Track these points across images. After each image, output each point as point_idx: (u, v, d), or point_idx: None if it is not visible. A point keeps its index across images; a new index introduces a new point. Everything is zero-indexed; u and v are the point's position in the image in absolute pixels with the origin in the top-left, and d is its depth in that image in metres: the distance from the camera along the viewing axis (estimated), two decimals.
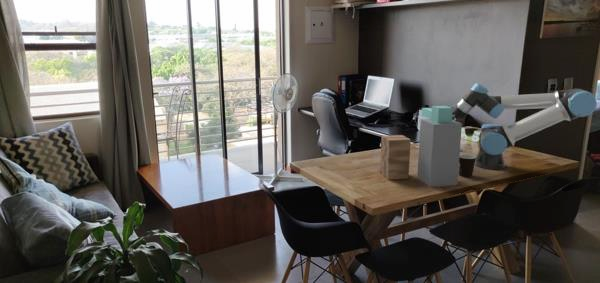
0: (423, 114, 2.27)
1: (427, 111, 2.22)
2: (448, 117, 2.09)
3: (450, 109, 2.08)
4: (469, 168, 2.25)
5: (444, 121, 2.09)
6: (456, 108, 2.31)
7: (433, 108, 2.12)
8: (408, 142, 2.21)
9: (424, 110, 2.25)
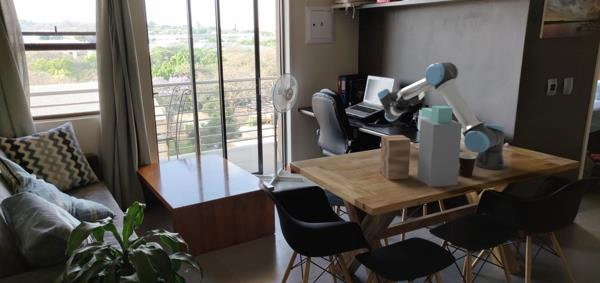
0: (423, 114, 2.27)
1: (427, 111, 2.22)
2: (448, 117, 2.09)
3: (450, 109, 2.08)
4: (469, 168, 2.25)
5: (444, 121, 2.09)
6: (395, 111, 2.61)
7: (433, 108, 2.12)
8: (408, 142, 2.21)
9: (424, 110, 2.25)
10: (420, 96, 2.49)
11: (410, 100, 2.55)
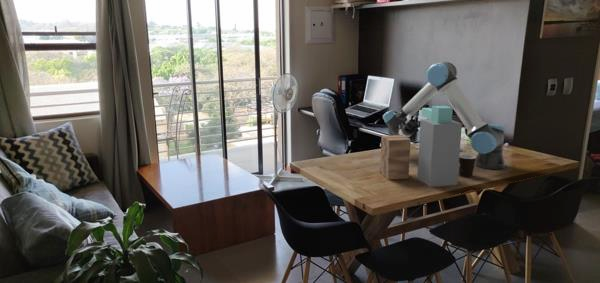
0: (423, 114, 2.27)
1: (427, 111, 2.22)
2: (448, 117, 2.09)
3: (450, 109, 2.08)
4: (469, 168, 2.25)
5: (444, 121, 2.09)
6: (404, 133, 2.49)
7: (433, 108, 2.12)
8: (408, 142, 2.21)
9: (424, 110, 2.25)
10: None
11: (420, 122, 2.42)
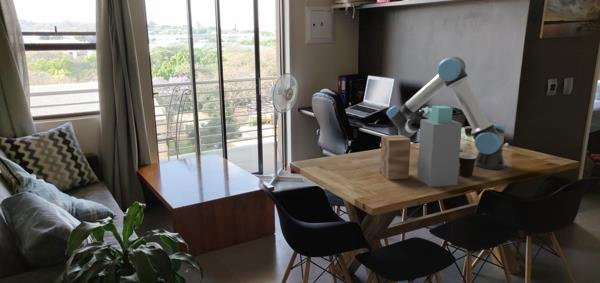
0: None
1: None
2: (448, 117, 2.09)
3: (450, 109, 2.08)
4: (469, 168, 2.25)
5: (444, 121, 2.09)
6: (411, 128, 2.41)
7: (433, 108, 2.12)
8: (408, 142, 2.21)
9: None
10: None
11: (424, 117, 2.33)
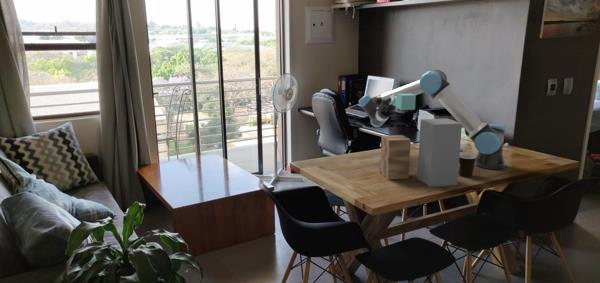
0: None
1: None
2: (411, 104, 2.16)
3: (413, 96, 2.16)
4: (469, 168, 2.25)
5: (407, 108, 2.16)
6: (381, 116, 2.48)
7: (397, 95, 2.20)
8: (408, 142, 2.21)
9: None
10: None
11: (392, 105, 2.41)
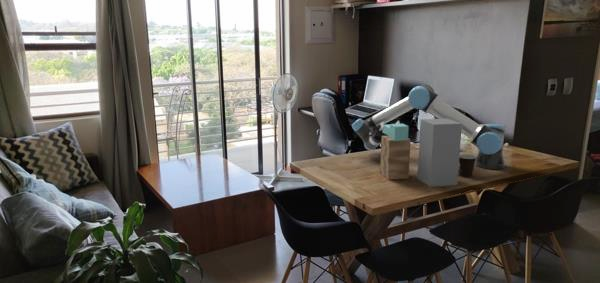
0: (383, 131, 2.36)
1: (386, 128, 2.31)
2: (404, 135, 2.18)
3: (406, 127, 2.17)
4: (469, 168, 2.25)
5: (400, 139, 2.18)
6: (374, 141, 2.50)
7: (390, 126, 2.21)
8: (408, 142, 2.21)
9: (384, 127, 2.34)
10: None
11: None
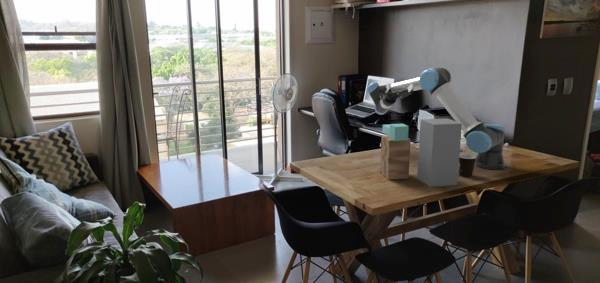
0: (383, 131, 2.36)
1: (386, 128, 2.31)
2: (404, 135, 2.18)
3: (406, 127, 2.17)
4: (469, 168, 2.25)
5: (400, 139, 2.18)
6: (385, 104, 2.61)
7: (390, 126, 2.21)
8: (408, 142, 2.21)
9: (384, 127, 2.34)
10: (409, 88, 2.49)
11: (399, 93, 2.55)
